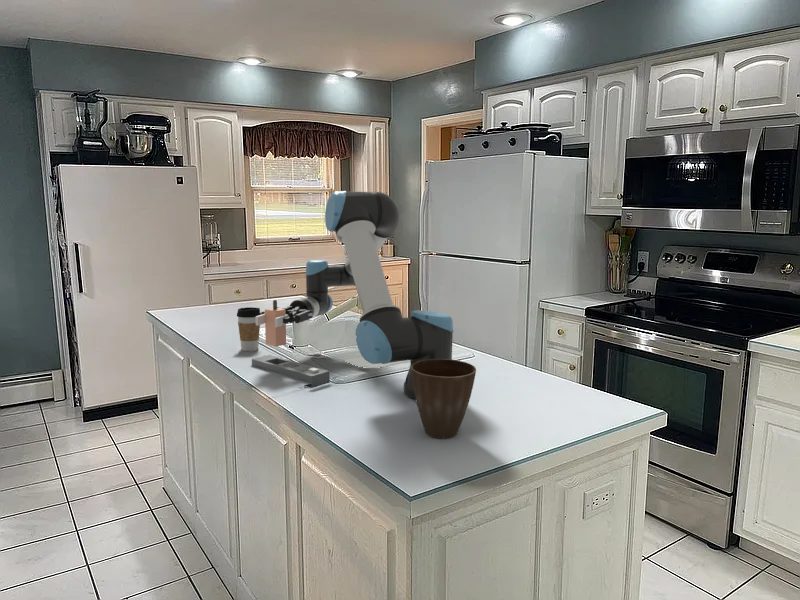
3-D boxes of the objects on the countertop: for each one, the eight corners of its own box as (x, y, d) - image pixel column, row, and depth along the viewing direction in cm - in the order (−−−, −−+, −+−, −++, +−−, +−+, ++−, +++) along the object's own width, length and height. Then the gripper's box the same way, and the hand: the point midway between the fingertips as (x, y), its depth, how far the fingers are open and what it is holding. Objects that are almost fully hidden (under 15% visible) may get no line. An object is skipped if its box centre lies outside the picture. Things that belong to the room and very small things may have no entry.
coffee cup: (248, 353, 213) (246, 311, 211) (232, 349, 218) (231, 308, 216) (266, 348, 220) (265, 307, 217) (251, 345, 225) (250, 305, 222)
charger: (286, 344, 190) (285, 299, 188) (275, 346, 187) (274, 301, 184) (275, 341, 193) (274, 298, 191) (265, 344, 190) (264, 299, 188)
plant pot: (468, 421, 151) (471, 358, 148) (478, 445, 136) (481, 376, 134) (408, 421, 151) (409, 358, 148) (411, 445, 136) (413, 376, 133)
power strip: (329, 382, 181) (329, 368, 180) (311, 388, 176) (311, 373, 175) (269, 365, 199) (269, 352, 198) (251, 369, 193) (251, 356, 193)
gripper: (329, 322, 203) (294, 336, 181) (279, 318, 209) (239, 331, 188) (329, 300, 201) (294, 311, 180) (278, 296, 208) (238, 307, 186)
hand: (266, 321), depth 184 cm, fingers closed on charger, 6 cm apart
